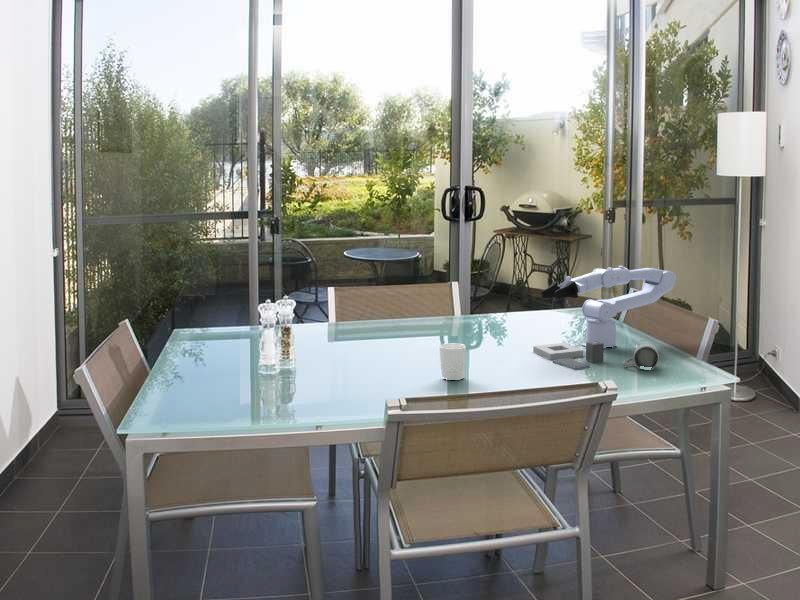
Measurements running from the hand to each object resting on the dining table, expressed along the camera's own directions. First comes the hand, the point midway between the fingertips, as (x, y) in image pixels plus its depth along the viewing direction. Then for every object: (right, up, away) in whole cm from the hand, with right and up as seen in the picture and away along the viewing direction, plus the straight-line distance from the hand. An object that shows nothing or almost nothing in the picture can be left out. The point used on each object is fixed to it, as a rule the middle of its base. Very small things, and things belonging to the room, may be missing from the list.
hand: (548, 295), depth 306 cm
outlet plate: (+4, -19, +4) cm, 20 cm away
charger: (+13, -21, -7) cm, 26 cm away
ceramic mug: (+26, -23, -16) cm, 38 cm away
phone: (+5, -23, -10) cm, 25 cm away
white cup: (-33, -25, -23) cm, 47 cm away
